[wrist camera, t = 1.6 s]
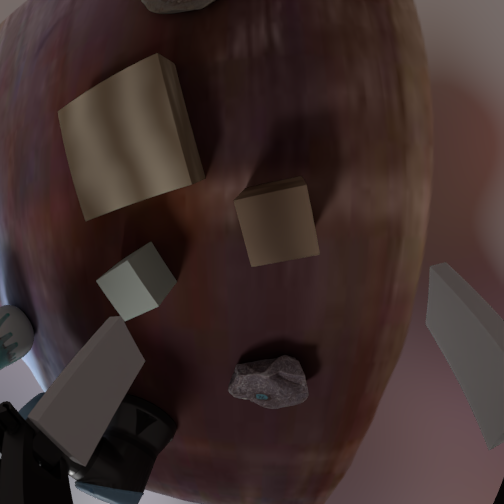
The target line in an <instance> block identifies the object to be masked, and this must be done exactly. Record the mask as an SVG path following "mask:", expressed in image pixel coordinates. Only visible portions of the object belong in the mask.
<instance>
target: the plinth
mask: <svg viewBox="0 0 504 504" xmlns="http://www.w3.org/2000/svg"><path fill="white" fill-rule="evenodd" d="M58 116H59V121H60V127H61V132H62V137H63V142H64V146H65V151H66V155H67V159H68V163H69V167H70V171H71V175H72V179H73V182H74V186H75V189H76V193H77V196H78V199H79V203H80V206H81V209H82V212H83V215H84V218H85V221H88V220H90V219H93V218H96V217H98V216H101V215H103V214H106V213H109V212H111V211H114V210H117V209H119V208H122V207H125V206H128V205H130V204H133V203H136V202H139V201H142V200H145V199H148V198H151V197H154V196H157V195H160V194H163V193H166V192H169V191H172V190H175V189H179V188H182V187H185V186H188V185H192V184H194V183H196V182H199V181H201V180H203V179H205V174H204V171H203V167H202V164H201V160H200V157H199V153H198V149H197V146H196V142H195V139H194V135H193V131H192V128H191V124H190V120H189V117H188V113H187V109H186V105H185V102H184V98H183V94H182V90H181V86H180V82H179V79H178V75H177V71H176V67H175V64H174V63H173V62H171V61H170V60H168V59H166V58H165V57H163V56H162V55H160V54H158V53H156V54H154V55H152V56H150V57H147V58H145V59H143V60H141V61H139V62H137V63H135V64H133V65H131V66H129V67H128V68H126V69H124V70H122V71H120V72H118V73H117V74H115V75H113V76H111V77H110V78H108V79H106V80H104V81H103V82H101V83H99V84H98V85H96V86H95V87H93V88H91V89H90V90H88V91H87V92H85V93H84V94H82V95H81V96H79V97H78V98H76V99H75V100H73V101H72V102H70V103H69V104H68V105H66V106H65V107H64V108H62V109H61V110H59V111H58Z"/></svg>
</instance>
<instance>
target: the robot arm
mask: <svg viewBox="0 0 504 504" xmlns="http://www.w3.org/2000/svg"><path fill="white" fill-rule="evenodd" d="M426 326H427V327H428V329H429V331H430V332H431V334H432V336H433V337H434V339H435V340H436V342H437V344H438V346H439V347H440V349H441V351H442V353H443V354H444V356H445V358H446V360H447V362H448V363H449V365H450V367H451V369H452V371H453V373H454V375H455V377H456V378H457V380H458V382H459V384H460V386H461V388H462V390H463V392H464V394H465V396H466V398H467V400H468V402H469V405H470V407H471V409H472V411H473V413H474V416H475V418H476V420H477V422H478V425H479V427H480V429H481V432H482V434H483V437H484V439H485V442H486V444H487V447H488V450H491V449H493V448H494V447H496V446H498V445H500V444H501V443H503V442H504V320H503V319H502V318H501V317H500V316H499V315H498V314H497V313H496V312H495V311H494V309H492V307H491V306H490V305H489V304H488V303H487V302H486V301H485V300H484V299H483V298H482V297H481V296H480V295H479V294H478V293H477V292H476V291H475V290H474V289H473V288H472V287H471V286H470V285H469V284H468V283H467V282H466V281H465V280H464V279H463V278H462V277H461V276H460V275H459V274H458V273H457V272H456V271H455V270H453V269H452V268H451V267H450V266H449V265H448V264H447V263H446V262H445V263H441V264H437V265H433V266H430V277H429V293H428V306H427V315H426ZM144 363H145V360H144V358H143V356H142V354H141V353H140V351H139V349H138V347H137V345H136V344H135V342H134V340H133V338H132V336H131V334H130V332H129V331H128V329H127V327H126V325H125V323H124V321H123V319H122V317H121V316H114V317H109V318H108V319H107V320H106V321H105V322H104V324H103V325H102V326H101V327H100V328H99V329H98V330H97V331H96V333H95V334H94V335H93V336H92V337H91V338H90V339H89V341H88V342H87V343H86V344H85V345H84V346H83V347H82V349H81V350H80V351H79V352H78V353H77V354H76V356H75V357H74V358H73V359H72V360H71V362H70V363H69V364H68V365H67V366H66V368H65V369H64V370H63V371H62V373H61V374H60V375H59V376H58V377H57V379H56V380H55V381H54V382H53V384H52V385H51V386H50V387H49V389H48V390H47V391H46V393H45V392H43V393H40V394H38V395H37V396H35V397H34V398H33V399H32V400H31V401H29V402H28V403H27V404H26V405H25V406H24V407H23V408H21V410H20V411H19V412H18V411H17V410H16V409H15V408H14V407H13V406H12V404H11V403H10V402H8V401H6V402H3V403H1V404H0V453H1V454H2V456H1V459H0V504H73V501H72V495H71V490H70V484H69V478H68V475H69V476H71V477H72V478H74V479H75V480H77V481H76V482H75V486H76V488H77V489H79V490H81V491H83V492H84V493H86V494H88V495H90V496H93V497H95V498H97V499H100V500H102V501H105V502H107V503H110V504H138V503H139V501H140V499H141V497H142V495H143V494H144V493H143V492H144V489H145V487H146V484H147V481H148V479H149V476H150V473H151V471H152V468H153V465H154V463H155V460H156V458H157V456H158V454H159V453H160V452H161V451H162V450H163V449H164V448H165V446H166V445H167V444H168V443H169V442H170V441H171V440H172V439H173V437H174V435H175V432H176V425H175V423H174V421H173V420H172V419H171V418H170V417H169V416H168V415H167V414H166V413H165V412H164V411H162V410H161V409H160V408H158V407H156V406H155V405H153V404H151V403H149V402H147V401H145V400H143V399H141V398H138V397H135V396H131V395H126V393H127V391H128V390H129V388H130V386H131V384H132V383H133V381H134V379H135V378H136V376H137V374H138V373H139V371H140V369H141V368H142V366H143V364H144ZM493 504H504V479H503V481H502V484H501V486H500V489H499V492H498V494H497V496H496V498H495V501H494V503H493Z"/></svg>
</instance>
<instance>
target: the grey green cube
mask: <svg viewBox="0 0 504 504" xmlns="http://www.w3.org/2000/svg"><path fill="white" fill-rule="evenodd" d="M96 282H97V283H98V285H99V286H100V288H101V289H102V291H103V292H104V293H105V295H106V296H107V298H108V299H109V301H110V302H111V303H112V305H113V306H114V308H115V309H116V310H117V312H118V313H119V314H120V316H121V317H122V318H123V320H124V321H127V320H129V319H132V318H134V317H136V316H138V315H141V314H143V313H145V312H147V311H149V310H152V309H154V308H156V307H158V306H159V305H160V304H161V303H162V301H163V300H164V298H165V297H166V296H167V294H168V293H169V292H170V290H171V289H172V288H173V286H174V285H175V284H176V282H177V281H176V279H175V278H174V276H173V275H172V273H171V272H170V270H169V269H168V267H167V266H166V264H165V262H164V261H163V259H162V258H161V256H160V255H159V253H158V252H157V250H156V248H155V247H154V245H153V244H152V242H149V243H148V244H146V245H144V246H143V247H141V248H140V249H138V250H137V251H135V252H133V253H132V254H130V255H129V256H127V257H126V258H124V259H123V260H121V261H120V262H118V263H117V264H116V265H115V266H113V267H112V268H111V269H110V270H108V271H107V272H106V273H105V274H104V275H102V276H101V277H100V278H99V279H97V280H96Z"/></svg>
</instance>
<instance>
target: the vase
mask: <svg viewBox="0 0 504 504" xmlns="http://www.w3.org/2000/svg"><path fill="white" fill-rule="evenodd" d="M33 342H34V331H33V327H32V325H31V323H30V321H29V319H28V318H27V316H26V315H25V314H24V312H23V311H22V310H20V309H19V308H18V307H16V306H13V305H4V306H2V307H0V370H1V369H3V368H4V367H6V366H9V365H10V364H12V363H14V362H15V361H17V360H19V359H21V358H22V357H24V356H25V355H26V354H27V353H28V352H29V351H30V350H31V348H32V345H33Z"/></svg>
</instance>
